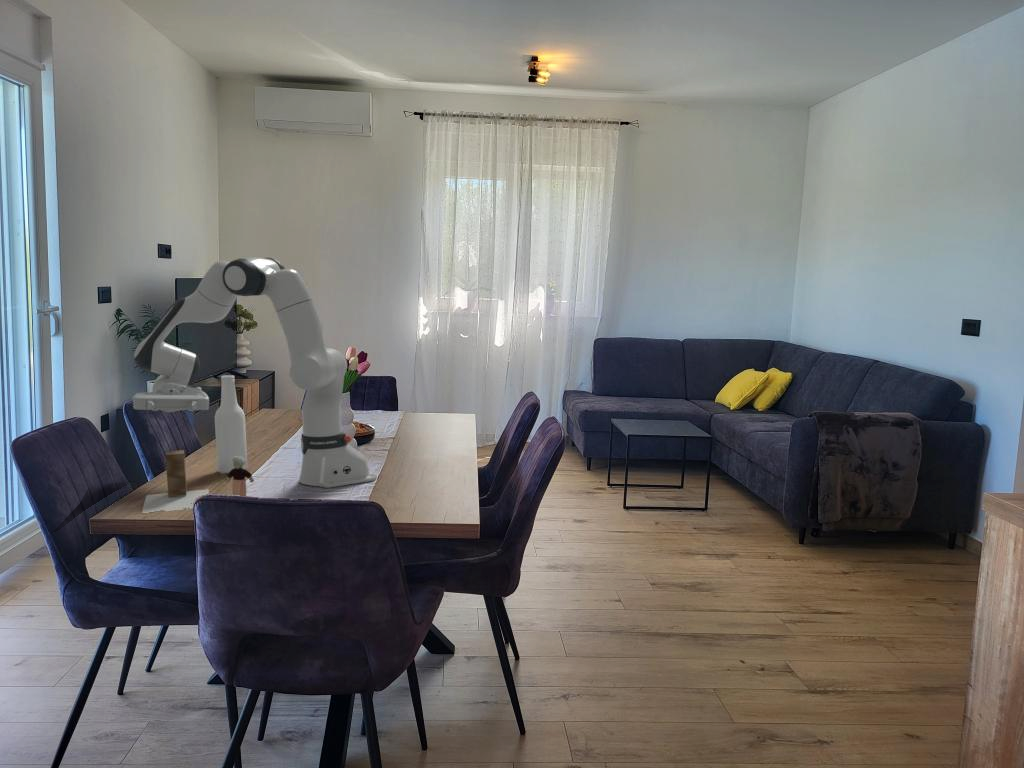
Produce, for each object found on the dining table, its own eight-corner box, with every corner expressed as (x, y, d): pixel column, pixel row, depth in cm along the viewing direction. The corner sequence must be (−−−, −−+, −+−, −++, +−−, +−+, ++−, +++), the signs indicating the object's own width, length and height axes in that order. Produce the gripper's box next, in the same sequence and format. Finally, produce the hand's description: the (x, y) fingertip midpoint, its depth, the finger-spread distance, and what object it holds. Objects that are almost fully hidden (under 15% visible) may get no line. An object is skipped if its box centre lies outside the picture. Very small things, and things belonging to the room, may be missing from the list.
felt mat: (208, 490, 219) (208, 489, 219) (208, 508, 202) (208, 506, 202) (146, 496, 213) (146, 495, 213) (141, 515, 196) (141, 513, 196)
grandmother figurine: (224, 503, 206) (221, 457, 205) (228, 499, 210) (225, 454, 208) (253, 503, 207) (251, 457, 205) (256, 499, 211) (254, 453, 209)
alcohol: (216, 475, 235) (210, 378, 231) (219, 468, 244) (213, 374, 239) (246, 473, 238) (241, 377, 233) (248, 466, 246) (243, 373, 242)
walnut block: (186, 491, 216) (184, 450, 214) (186, 496, 212) (183, 453, 210) (169, 493, 214) (166, 451, 212) (168, 497, 210) (165, 455, 208)
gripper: (131, 385, 225) (132, 396, 213) (206, 387, 234) (211, 397, 222) (130, 406, 226) (132, 418, 214) (205, 407, 236) (210, 419, 224)
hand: (173, 408), depth 218 cm, fingers open, 8 cm apart
